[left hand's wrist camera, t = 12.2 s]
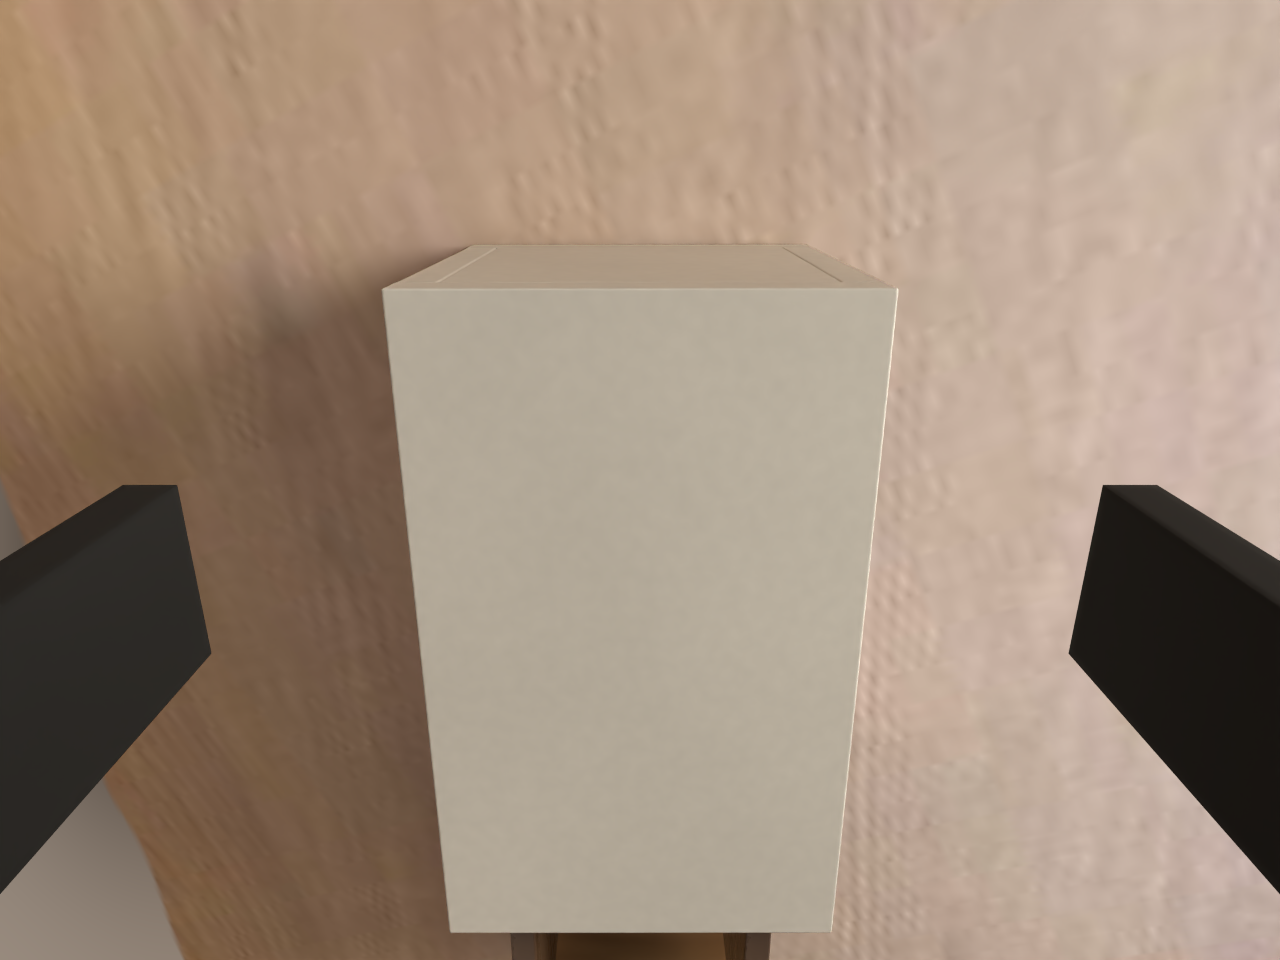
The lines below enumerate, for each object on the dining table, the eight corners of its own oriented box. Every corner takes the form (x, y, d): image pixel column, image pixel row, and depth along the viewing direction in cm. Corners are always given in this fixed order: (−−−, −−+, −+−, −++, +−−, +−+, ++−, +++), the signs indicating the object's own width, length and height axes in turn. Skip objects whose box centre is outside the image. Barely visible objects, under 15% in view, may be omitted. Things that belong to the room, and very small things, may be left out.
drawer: (747, 1022, 40) (775, 1242, 32) (533, 1022, 40) (506, 1242, 32) (775, 576, 31) (821, 718, 23) (505, 576, 31) (459, 718, 23)
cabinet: (777, 713, 35) (832, 933, 25) (503, 713, 35) (449, 933, 25) (808, 244, 28) (899, 287, 18) (471, 244, 28) (380, 288, 18)
